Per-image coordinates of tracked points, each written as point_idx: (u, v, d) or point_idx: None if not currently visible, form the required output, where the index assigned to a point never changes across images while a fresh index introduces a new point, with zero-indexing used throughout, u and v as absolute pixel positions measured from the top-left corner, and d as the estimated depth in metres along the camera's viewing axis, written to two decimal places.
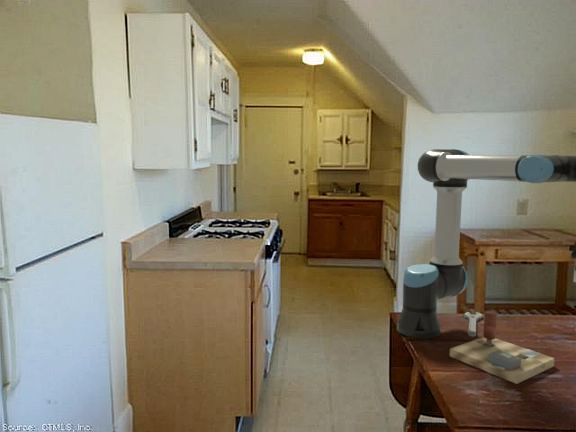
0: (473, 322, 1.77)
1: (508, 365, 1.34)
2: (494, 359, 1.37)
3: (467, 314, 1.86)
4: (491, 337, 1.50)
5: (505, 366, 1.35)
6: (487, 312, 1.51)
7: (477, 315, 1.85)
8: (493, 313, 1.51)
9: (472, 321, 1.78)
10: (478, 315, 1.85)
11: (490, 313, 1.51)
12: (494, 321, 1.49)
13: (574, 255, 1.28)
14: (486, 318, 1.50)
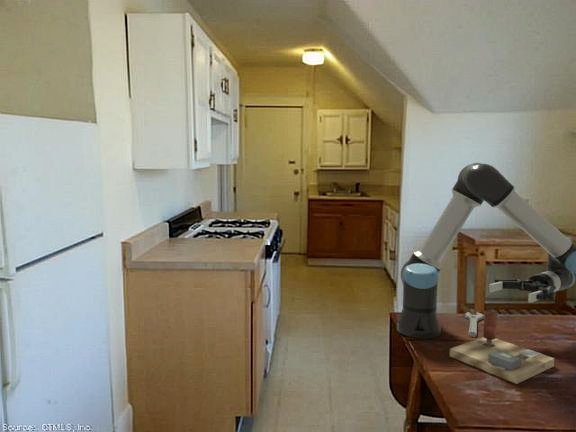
0: (474, 322, 1.77)
1: (508, 365, 1.34)
2: (494, 359, 1.37)
3: (468, 314, 1.85)
4: (491, 337, 1.50)
5: (505, 366, 1.35)
6: (487, 312, 1.51)
7: (478, 315, 1.84)
8: (493, 313, 1.51)
9: (473, 321, 1.78)
10: (479, 315, 1.84)
11: (490, 313, 1.51)
12: (494, 321, 1.49)
13: None
14: (486, 318, 1.50)
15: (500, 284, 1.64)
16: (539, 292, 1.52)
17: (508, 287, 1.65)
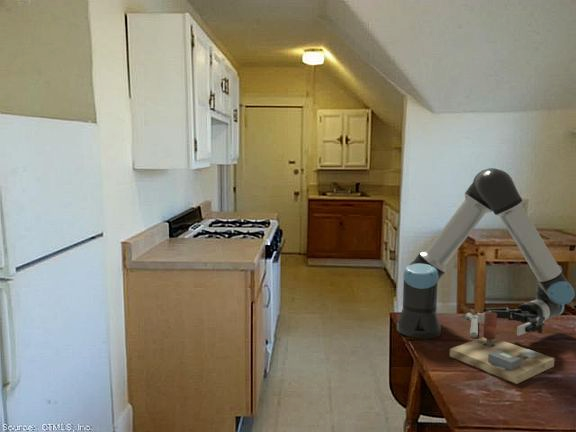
0: (475, 323, 1.76)
1: (508, 365, 1.34)
2: (494, 359, 1.37)
3: (469, 315, 1.85)
4: (491, 337, 1.50)
5: (505, 366, 1.35)
6: (487, 312, 1.51)
7: None
8: (493, 313, 1.51)
9: (474, 322, 1.77)
10: None
11: (490, 313, 1.51)
12: (494, 321, 1.49)
13: None
14: (486, 318, 1.50)
15: None
16: (528, 324, 1.49)
17: (497, 316, 1.62)
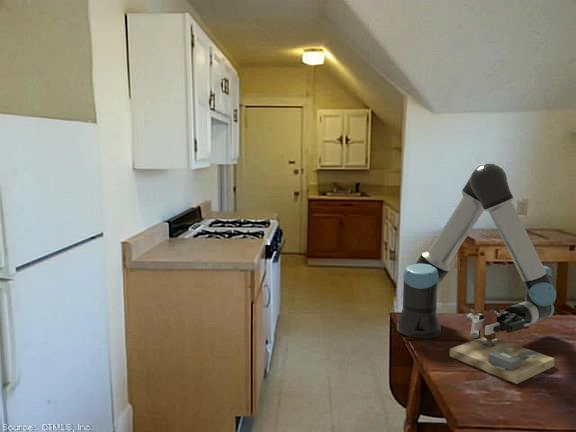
0: None
1: (508, 365, 1.34)
2: (494, 359, 1.37)
3: (470, 315, 1.84)
4: (491, 337, 1.50)
5: (505, 366, 1.35)
6: (487, 312, 1.51)
7: None
8: (493, 313, 1.51)
9: None
10: None
11: (490, 313, 1.51)
12: (494, 321, 1.49)
13: (510, 327, 1.48)
14: (486, 318, 1.50)
15: None
16: (496, 324, 1.49)
17: None
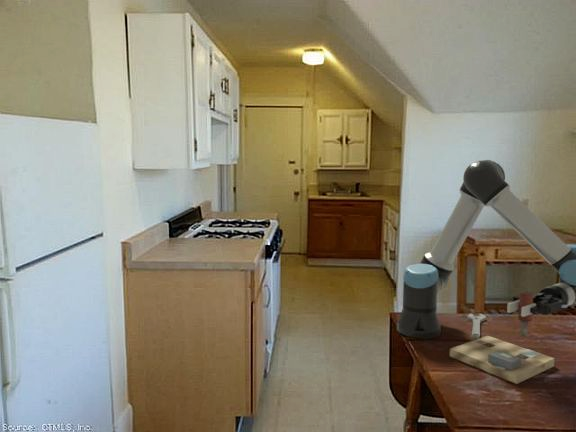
0: (477, 324, 1.75)
1: (508, 365, 1.34)
2: (494, 359, 1.37)
3: (470, 316, 1.84)
4: (527, 319, 1.40)
5: (505, 366, 1.35)
6: (522, 293, 1.41)
7: (481, 317, 1.83)
8: (529, 293, 1.41)
9: (476, 323, 1.76)
10: (482, 317, 1.83)
11: (526, 293, 1.40)
12: (530, 302, 1.39)
13: (547, 308, 1.38)
14: (522, 299, 1.40)
15: None
16: (533, 305, 1.39)
17: None
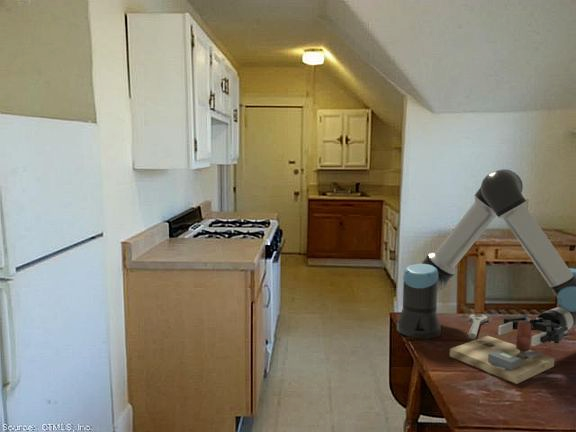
0: (476, 324, 1.75)
1: (508, 365, 1.34)
2: (494, 359, 1.37)
3: (472, 316, 1.83)
4: (525, 349, 1.41)
5: (505, 366, 1.35)
6: (520, 322, 1.43)
7: (482, 317, 1.82)
8: (527, 323, 1.42)
9: (475, 323, 1.76)
10: (483, 317, 1.82)
11: (524, 323, 1.42)
12: (528, 332, 1.41)
13: (558, 338, 1.37)
14: (520, 328, 1.41)
15: (510, 325, 1.47)
16: (543, 334, 1.38)
17: None
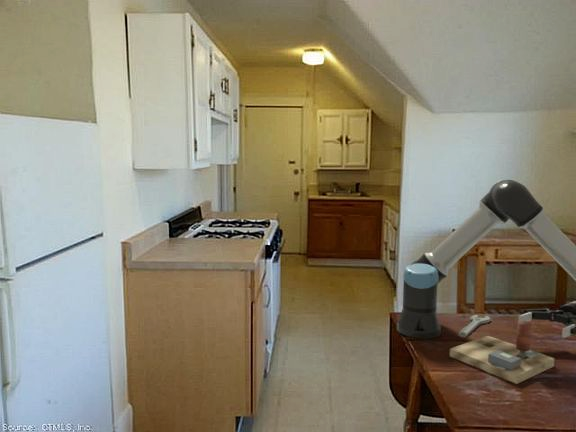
0: (473, 324, 1.75)
1: (508, 365, 1.34)
2: (494, 359, 1.37)
3: (474, 317, 1.83)
4: (525, 349, 1.41)
5: (505, 366, 1.35)
6: (520, 322, 1.43)
7: (484, 318, 1.81)
8: (527, 323, 1.42)
9: (473, 323, 1.76)
10: (485, 319, 1.81)
11: (524, 323, 1.42)
12: (528, 332, 1.41)
13: None
14: (520, 328, 1.41)
15: (529, 315, 1.56)
16: (573, 326, 1.45)
17: (537, 318, 1.57)
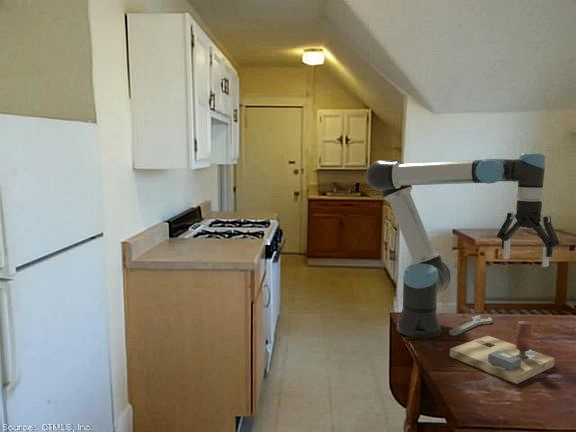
0: (470, 324, 1.75)
1: (508, 365, 1.34)
2: (494, 359, 1.37)
3: (475, 317, 1.82)
4: (525, 349, 1.41)
5: (505, 366, 1.35)
6: (520, 322, 1.43)
7: (485, 319, 1.80)
8: (527, 323, 1.42)
9: (470, 323, 1.76)
10: (486, 320, 1.79)
11: (524, 323, 1.42)
12: (528, 332, 1.41)
13: (556, 244, 1.52)
14: (520, 328, 1.41)
15: (507, 244, 1.65)
16: (545, 251, 1.54)
17: (512, 234, 1.65)
